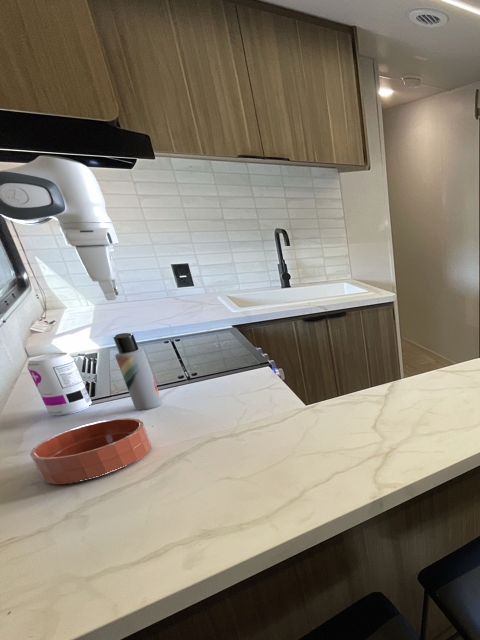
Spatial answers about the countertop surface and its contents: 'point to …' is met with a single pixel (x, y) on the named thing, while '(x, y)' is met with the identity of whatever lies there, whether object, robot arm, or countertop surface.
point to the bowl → (91, 450)
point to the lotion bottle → (136, 373)
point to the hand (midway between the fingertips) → (113, 297)
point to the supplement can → (59, 383)
